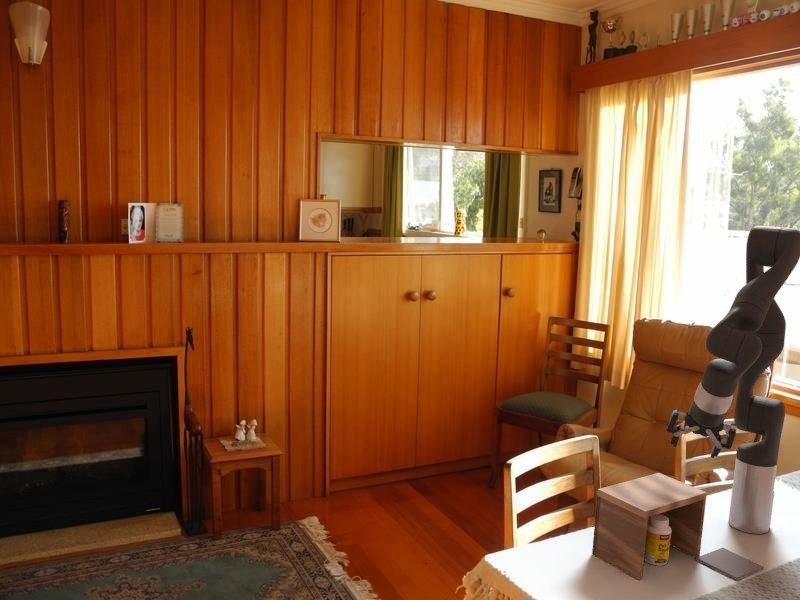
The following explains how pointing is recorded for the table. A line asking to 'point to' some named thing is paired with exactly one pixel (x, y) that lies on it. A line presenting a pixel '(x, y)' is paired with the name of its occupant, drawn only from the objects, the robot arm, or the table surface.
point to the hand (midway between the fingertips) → (693, 449)
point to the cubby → (645, 519)
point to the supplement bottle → (657, 540)
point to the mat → (729, 563)
